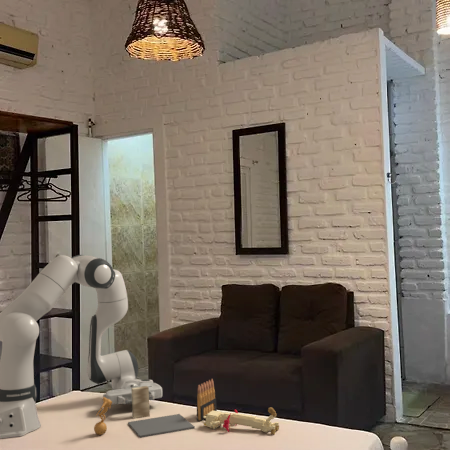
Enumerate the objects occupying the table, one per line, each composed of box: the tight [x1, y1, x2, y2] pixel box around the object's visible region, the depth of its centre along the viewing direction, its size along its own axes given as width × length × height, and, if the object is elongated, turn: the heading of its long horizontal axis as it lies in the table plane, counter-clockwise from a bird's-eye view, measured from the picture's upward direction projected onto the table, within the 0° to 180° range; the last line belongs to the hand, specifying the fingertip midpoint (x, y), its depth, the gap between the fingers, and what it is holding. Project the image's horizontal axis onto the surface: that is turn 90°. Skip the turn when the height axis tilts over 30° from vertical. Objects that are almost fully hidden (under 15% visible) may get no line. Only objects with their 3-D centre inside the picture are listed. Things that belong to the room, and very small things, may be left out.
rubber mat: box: [127, 413, 196, 438], centre depth 201 cm, size 18×16×1 cm
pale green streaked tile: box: [131, 386, 151, 419], centre depth 213 cm, size 6×2×10 cm, turn 112°
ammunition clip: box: [196, 378, 218, 422], centre depth 209 cm, size 11×2×12 cm, turn 152°
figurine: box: [93, 396, 113, 436], centre depth 195 cm, size 8×6×12 cm
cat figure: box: [200, 407, 280, 435], centre depth 194 cm, size 10×9×25 cm
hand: (139, 399), depth 214 cm, fingers open, 8 cm apart
